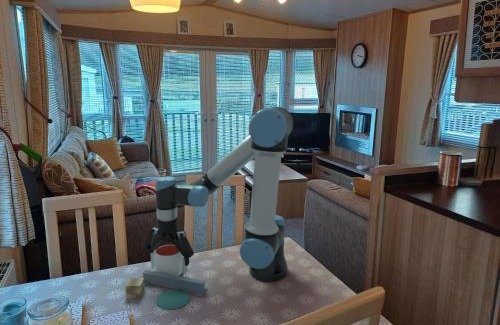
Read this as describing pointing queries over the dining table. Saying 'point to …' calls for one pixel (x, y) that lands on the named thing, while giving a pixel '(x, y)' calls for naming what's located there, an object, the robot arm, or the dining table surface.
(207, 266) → the dining table surface
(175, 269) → the cup
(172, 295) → the coaster
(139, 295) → the oak block
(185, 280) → the rail
